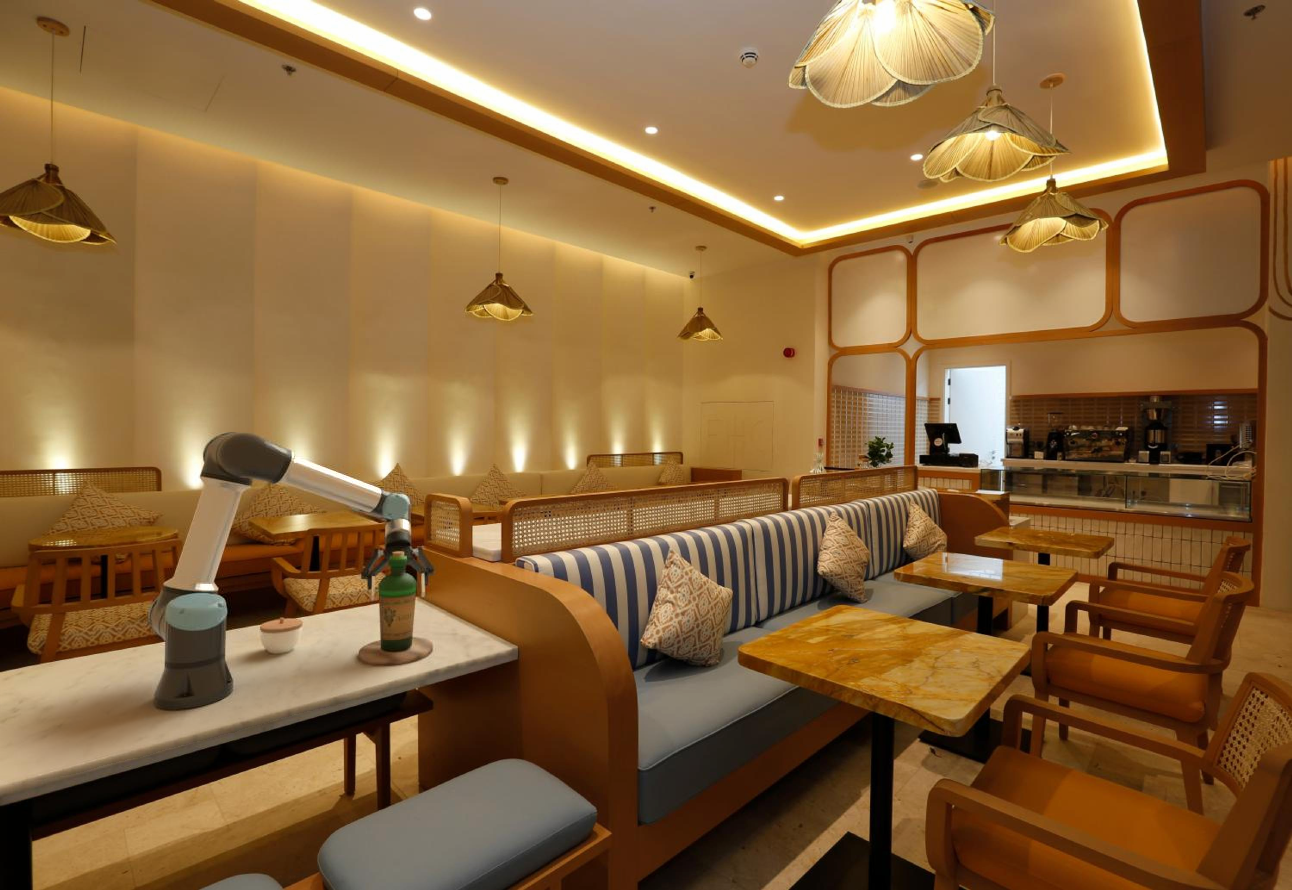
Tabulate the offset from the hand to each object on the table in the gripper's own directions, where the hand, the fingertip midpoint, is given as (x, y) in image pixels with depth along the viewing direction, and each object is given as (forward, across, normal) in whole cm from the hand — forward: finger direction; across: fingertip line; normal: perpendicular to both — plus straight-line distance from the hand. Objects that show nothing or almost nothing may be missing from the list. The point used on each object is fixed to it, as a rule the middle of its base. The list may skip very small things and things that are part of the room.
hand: (398, 596), depth 175 cm
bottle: (+10, 0, -12) cm, 16 cm away
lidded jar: (+1, +31, -23) cm, 39 cm away
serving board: (+11, 0, -13) cm, 17 cm away
